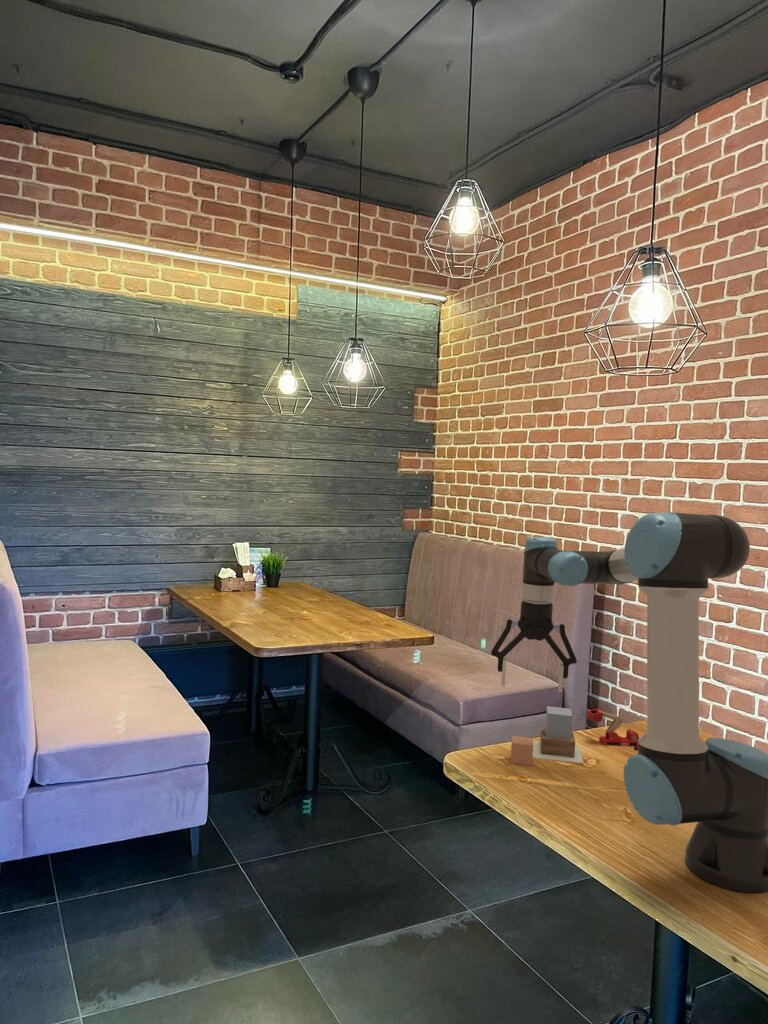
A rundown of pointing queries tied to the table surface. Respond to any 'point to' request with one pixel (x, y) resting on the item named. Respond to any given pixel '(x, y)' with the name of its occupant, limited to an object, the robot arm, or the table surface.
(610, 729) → the toy fire truck
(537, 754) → the plate
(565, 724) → the slate brick
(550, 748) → the walnut base
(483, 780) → the table surface
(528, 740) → the terracotta brick
